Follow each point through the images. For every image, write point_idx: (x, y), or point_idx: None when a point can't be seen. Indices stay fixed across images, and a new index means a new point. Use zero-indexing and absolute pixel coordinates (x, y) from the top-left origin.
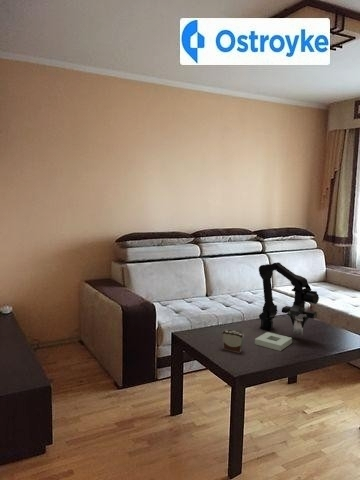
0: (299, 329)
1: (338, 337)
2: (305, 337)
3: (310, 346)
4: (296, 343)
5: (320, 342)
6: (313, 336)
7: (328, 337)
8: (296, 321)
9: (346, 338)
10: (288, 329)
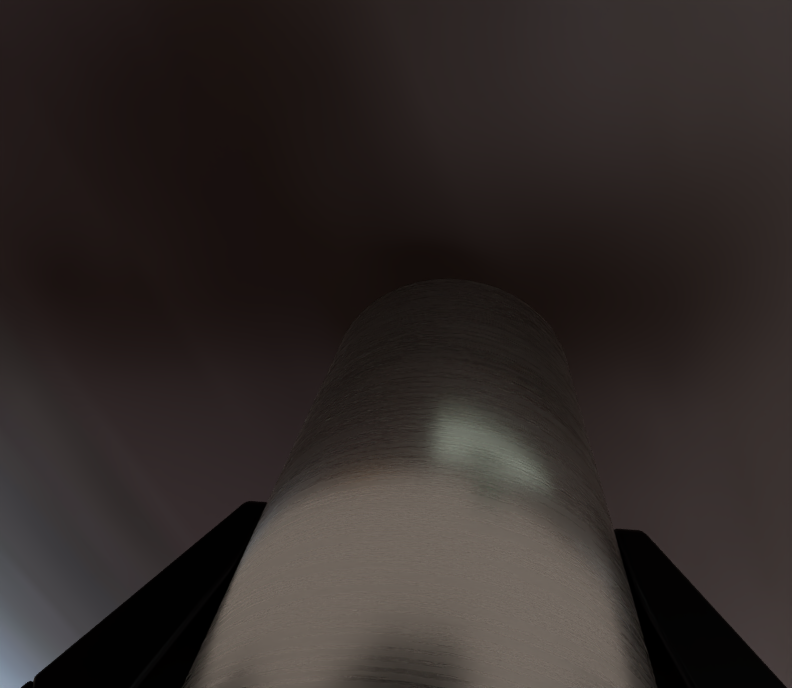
0: (335, 390)
1: None
2: None
3: (34, 60)
4: (353, 10)
5: (79, 400)
6: None
7: None
8: (439, 685)
9: (5, 672)
10: (759, 649)
